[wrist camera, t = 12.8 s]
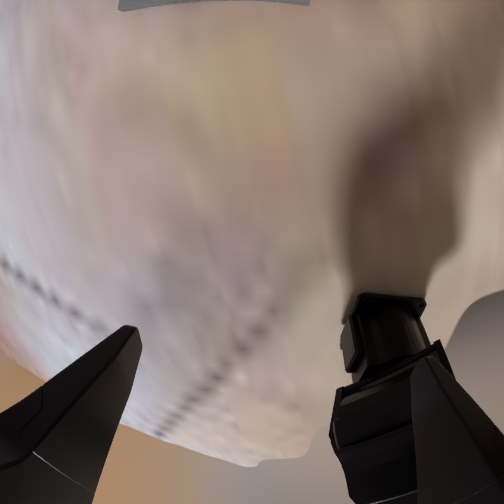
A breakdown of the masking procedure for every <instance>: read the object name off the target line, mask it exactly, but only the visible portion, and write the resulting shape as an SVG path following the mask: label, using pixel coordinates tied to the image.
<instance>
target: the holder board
mask: <svg viewBox="0 0 504 504" xmlns="http://www.w3.org/2000/svg"><path fill="white" fill-rule="evenodd" d="M199 1H223V0H119V6H118V10H120V11H123V12H125V11H130V10H135V9H141V8H146V7H153V6H160V5H167V4H176V3H186V2H199ZM244 1H268V2H281V3H292V4H300V5H308V6H309V3H310V0H244Z"/></svg>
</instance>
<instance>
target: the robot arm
mask: <svg viewBox="0 0 504 504" xmlns="http://www.w3.org/2000/svg"><path fill="white" fill-rule="evenodd" d="M363 299H365V300H363ZM420 304H421V305H420ZM426 305H427V304H426V301H425V300H424V299H423V298H413V297H401V296H390V295H380V294H369V293H362V294H360V295H359V296H358V298H357V301H356V304H355V307H354V309H353V312H352V315H349V316H348V318H347V321H346V324H345V326H344V329H343V331H342V334H341V342H340V348H341V349H342V350H343V357H344V365H345V371H346V372H347V373H351V374H352V381H353V384H350V385H348V386H345V387H340V388H338V389H336V395H335V401H334V407H333V413H332V418H331V423H330V430H329V437H330V440H331V445H332V447H333V450H334V452H335V454H336V456H337V457H338V459H339V461H340V463H341V464H342V468H343V471H344V473H345V477H346V481H347V487H348V493H349V497H350V498H351V499H352V500H353V502H354V503H355V504H504V435H503V434H502V432H501V431H500V430H499V429H498V427H497V426H496V425H494V423H493V422H492V421H491V419H490V418H489V417H488V416H487V415H486V414H485V412H484V411H483V410H482V409H481V408H480V407H479V405H478V404H477V403H476V402H475V401H474V400H473V399H472V398H471V396H470V395H469V394H468V393H467V392H466V391H465V390H464V389H463V388H462V386H460V384H459V383H458V382H457V381H456V379H455V376H454V374H453V371H452V368H451V365H450V363H449V361H448V358H447V356H446V353H445V351H444V348H443V346H442V344H441V341H440V339H439V340H437V341H435V342H433V343H434V344H432V345H431V344H430V341H429V339H428V336H427V334H426V331H425V329H424V326H423V324H422V322H421V319H420V317H421V315H422V313H423V311H424V309H425V307H426ZM141 352H142V342H141V338H140V334H139V330H138V328H137V327H134V326H130V325H124V326H122V327H121V328H119V329H118V330H117V331H115V332H114V333H113V334H111V335H110V336H108V337H107V338H106V339H104V340H103V341H102V342H100V343H99V344H97V345H96V346H95V347H93V348H92V349H91V350H89V351H88V352H87V353H85V354H84V355H82V356H81V357H80V358H78V359H77V360H76V361H74V362H73V363H72V364H70V365H69V366H68V367H66V368H65V369H63V370H62V371H61V372H59V373H58V374H57V375H55V376H54V377H53V378H51V379H50V380H49V381H47V382H46V383H45V384H44V385H43V386H41V387H39V388H38V389H37V390H35V391H34V392H33V393H31V394H30V395H28V396H27V397H26V398H24V399H23V400H21V401H20V402H18V403H16V404H15V405H13V406H12V407H10V408H8V409H7V410H5V411H3V412H1V413H0V504H92V501H93V498H94V495H95V494H94V493H95V491H96V488H97V485H98V482H99V478H100V476H101V473H102V470H103V467H104V464H105V461H106V458H107V455H108V452H109V449H110V446H111V444H112V441H113V438H114V435H115V432H116V430H117V427H118V424H119V422H120V419H121V416H122V414H123V411H124V408H125V406H126V403H127V401H128V398H129V395H130V392H131V389H132V386H133V382H134V378H135V374H136V370H137V367H138V363H139V359H140V356H141Z"/></svg>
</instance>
